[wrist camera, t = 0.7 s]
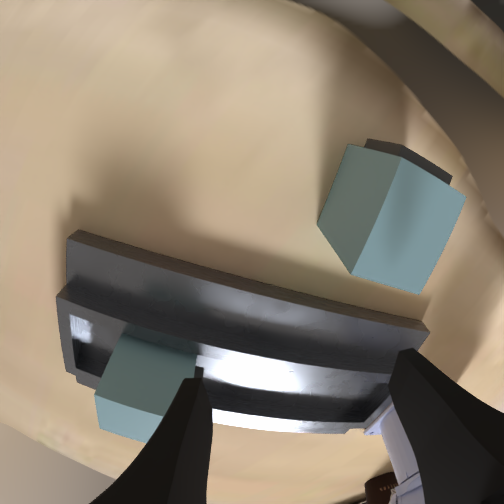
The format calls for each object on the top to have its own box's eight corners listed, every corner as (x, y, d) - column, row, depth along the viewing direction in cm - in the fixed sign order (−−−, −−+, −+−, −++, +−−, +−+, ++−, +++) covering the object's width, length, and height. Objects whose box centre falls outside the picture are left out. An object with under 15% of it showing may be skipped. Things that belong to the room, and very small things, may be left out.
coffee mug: (349, 488, 38) (359, 530, 29) (386, 469, 35) (400, 514, 26) (382, 486, 41) (392, 522, 32) (415, 468, 38) (428, 505, 29)
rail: (421, 321, 20) (439, 344, 17) (341, 422, 26) (348, 445, 23) (78, 229, 16) (54, 248, 13) (82, 370, 21) (71, 394, 19)
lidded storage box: (372, 243, 17) (419, 294, 12) (316, 224, 17) (350, 274, 11) (406, 162, 15) (471, 184, 10) (351, 134, 14) (406, 142, 9)
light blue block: (207, 348, 18) (198, 424, 13) (195, 384, 20) (187, 452, 14) (125, 325, 17) (94, 394, 12) (123, 363, 19) (99, 428, 13)
